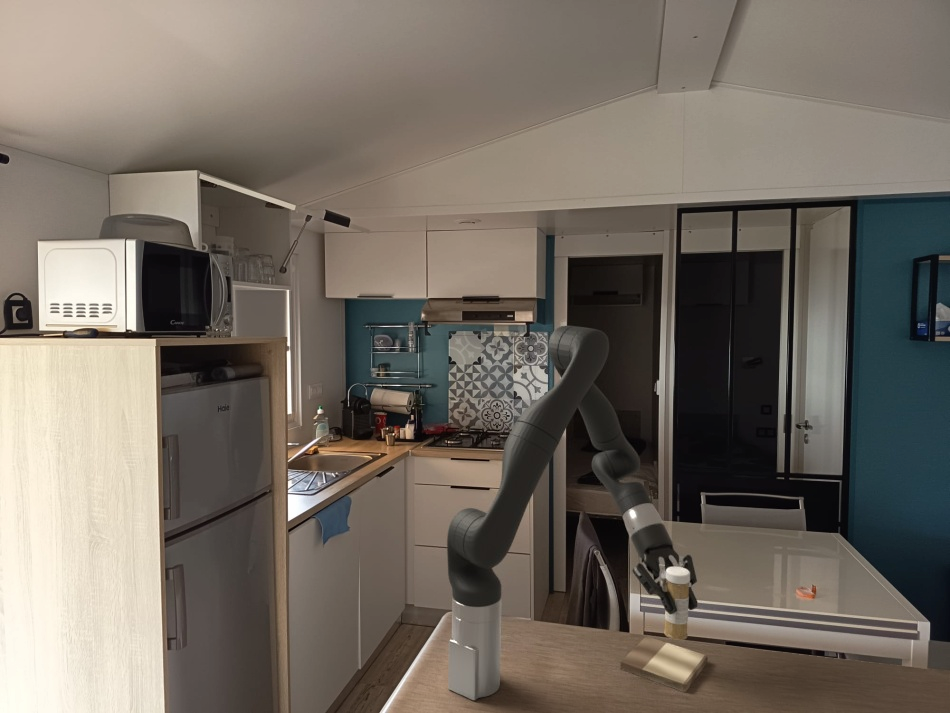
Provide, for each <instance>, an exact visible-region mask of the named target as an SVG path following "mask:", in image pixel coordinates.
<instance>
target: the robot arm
mask: <svg viewBox="0 0 950 713" xmlns="http://www.w3.org/2000/svg"><path fill="white" fill-rule="evenodd" d="M547 346H548V347H547V348H548V354H549V357H550V361H551V363H552V364H553V366H554V369H555V370H556V371H557V373H558V376H559V377H560V379H559V380H558V381H557V382H556V384H555V385H554V386H553V387H552V388H550V390H548V391H547V392H546V393H544V394H543V395H542V396H540V397H539V398H538V399H536V400H535V401H533V402H532V403H531V404H530V405H529V406H528V407H527V408H525V409H524V410H523V411H522V413H521V414H519V416H518V418H517V419H516V422H515V423H514V425H513V427H512V429H511V430H510V433H509V435H508V436H507V438H506V441H505V443H504V446H503V450H502V452H503V453H502V464H501V479H500V484H499V489H498V490H497V494H496V495H495V497H494V499H493V501H492V503H491V505H490V507H489V509H488V511H487V512H485V511H483V510H480V509H477V508H472V507H468V508H464V509H461V510H459V511H458V512H457V513H456V514H455V515H454V516H453V518H452V520H451V521H450V524H449V527H448V531H447V537H446V538H447V539H446V540H447V541H446V549H447V550H446V555H447V558H446V559H447V576H448V581H449V584H450V586H451V590H452V592H451V594H452V597H451V598H452V600H451V602H452V603H451V604H452V608H451V610H452V612H451V638H450V639H449V641H448V678H447V679H448V681H447V682H448V690H450V691H451V692H454V693H456V694H458V695H461V696H462V697H465V698H467V699H469V700H472V701H476V700H477V699H479V698H481V699H482V698H485V697H490V696H491V695H494V694H495V693H496V692H497V691H498V690H499V688H500V687H501V648H502V647H501V644H502V643H501V636H502V634H501V633H502V632H501V631H502V629H501V628H502V583H501V581H500V578H499V577H498V576H497V574H496V573H495V571H494V569H493V568H495V567H496V566H498V565H499V564H500V563H501V562H502V561H503V560H504V559H505V557H506V556H507V554H508V552H509V551H510V549H511V547H512V545H513V543H514V539H515V537H516V535H517V532H518V530H519V527H520V525H521V523H522V522H521V521H522V520H523V518H524V515H525V512H526V509H527V507H528V506H529V505H528V504H529V502H530V500H531V499H532V496H533V494H534V492H535V490H536V489H537V488H536V487H537V486H538V485H539V482H540V480H541V477H542V475H543V473H544V472H545V470H546V468H547V466H548V465H549V462H550V461H551V459H552V457H553V455H554V453H555V452H556V450H557V448H558V445H559V444H560V441H561V439H562V437H563V435H564V434H565V431H566V429H567V427H568V425H569V423H570V422H571V420H572V418H573V416H574V415H575V412H576V411H577V409H578V411H579V412H580V415H581V417H582V419H583V422H584V425H585V428H586V430H587V434H588V436H589V438H590V441H591V444H592V446H593V447H594V448H595V449H597V450H598V451H602V452H598V453H596V454H595V455H593V458H592V461H591V468H592V471H593V474H595V476H596V477H597V479H598V480H599V481H600V483H601V484H603V485H604V487H605V488H606V490H607V491H608V492H609V493H610V495H611V496H612V498H613V499H614V502H615V504H616V505H617V508H618V510H619V512H620V515H621V517H622V519H623V522H624V525H625V528H626V531H627V533H628V536H629V537H630V539H631V542H632V544H633V547H634V550H635V552H636V553H637V555H638V557H639V558H640V559H641V563H640V562H639V563H638V564H636V566H634V567H633V568H632V574H634V576H635V577H636V578H637V580H638V581H639V584H641V585H642V587H643V588H644V589H645V591H646V592H647V594H648V595H650V596H652V595H655V596H658V597H659V599H660V601H661V604H662V606H663V607H664V610H666V611H667V612H668V613H669V614H670V615H671V614H674V613H675V612H677V607H676V605H675V603H674V601H673V598H672V596H671V594H670V592H667V591H668V588H667V579H666V569H667V568H669V567H673V566H677V567H683V568H685V569H687V570H688V571H689V572H690V582H689V604H688V611H693V610H695V609H696V608H698V600H697V597H696V596H695V594H694V591H693V589H692V586H693V585H694V584H696V583H697V582H698V581H697V580H698V579H697V574H696V571H695V570H696V569H695V566H694V561H693V558H692V556H691V555H690V554H687V555H685V556H684V555H679V553H678V552H676V551H675V549H674V544H673V541H672V538H671V536H670V535H669V532H668V530H667V529H666V526H665V523H664V522H663V520H662V518H661V516H660V514H659V512H658V511H657V509H656V507H655V506H654V504H653V502H652V500H651V498H650V496H649V494H648V491H647V490H646V487H645V486H644V484H643V483H641V482H639V481H631V482H630V481H629V482H620V481H619V480H622V479H625V478H626V477H627V478H628V477H630V476H632V475H634V474H636V473H637V472H638V471H639V469H640V467H641V459H640V456H639V455H638V453H637V451H636V450H635V448H634V447H633V446H632V444H630V442H629V441H628V440H627V438H626V437H625V435H624V433H623V430H622V427H621V424H620V422H619V418H618V415H617V413H616V410H615V409H614V407H613V405H612V403H611V401H609V399H608V398H607V397H606V396H605V394H604V393H603V392H602V391H601V390H600V389H599V387H598V386H597V385H596V384H595V383H594V382H595V380H596V379H597V378H598V376H599V374H600V373H601V371H602V370H603V367H604V365H605V364H606V361H607V359H608V356H609V353H610V342H609V338H608V335H606V333H605V332H603V330H599V329H595V328H590V327H585V326H584V327H583V326H576V325H562V326H559V327H557V328H556V329H554V330H553V332H552V334H551V335H550V336H549V340H548V345H547Z"/></svg>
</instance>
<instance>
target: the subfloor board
mask: <svg viewBox="0 0 950 713" xmlns="http://www.w3.org/2000/svg"><path fill="white" fill-rule="evenodd" d="M707 664H708V655H707V654H703V653H700V652H697V651H694V650H692V649H689V648H685V647H681V646H678V645H676V644H673V643H669V642H666V641H663V640H660V639H658V638H657V639H656V638H654V637H651V636H647V635H646V636H645V637H644V638H643V639H641V641H639V643H638V644H637V645H636V646H635V647H634V648H633V649H631V651H629V653H628V654H627V655H625V657H624V658H623V659H622V660H621V661H620V670H622V669H624V670H623V671H625V670H626V671H625V672H627V671H628V672H627V673H631V674H633V673H634V674H633V675H635V676H638V675H639V676H638V677H641V676H642V677H641V678H644V679H647V678H648V679H647V680H649V679H650V681H652V682H655V683H658V684H660V685H664V686H667V687H669V688H671V687H672V689H674V688H675V689H674V690H678V691H680V692H682V693H686V692H687V691H689V689H690V687H691V685H692V684H693V683H694V681H695V680H696V679H697V678H698V676H699V674H700V673H701V672H702V671H703V670H704V668H706V666H707Z"/></svg>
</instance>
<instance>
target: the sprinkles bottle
mask: <svg viewBox="0 0 950 713" xmlns="http://www.w3.org/2000/svg"><path fill="white" fill-rule="evenodd" d="M666 579H667V580H666V583H667V588H668V591H667V592H670V594H671V596H672V598H673V601H674V603H675V605H676V607H677V612H675V613H674V614H671V615H670V614H669V613H668V612H667V611H666V610H665V609H664V610H665V612H664V613H665V614H664V619H665V620H664V630H663V632H664V635H665V636H666V637H667V638H668V639H671V640H675V641H682V640H686V639H687V638H688V622H689V621H688V620H689V609H688V604H689V582H690V572H689V571H688V570H687V569H685V568H683V567H677V566H673V567H669V568H667V569H666Z"/></svg>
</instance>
